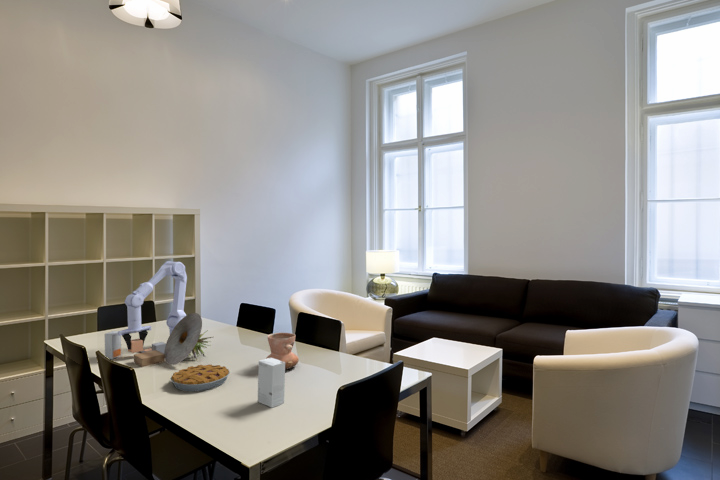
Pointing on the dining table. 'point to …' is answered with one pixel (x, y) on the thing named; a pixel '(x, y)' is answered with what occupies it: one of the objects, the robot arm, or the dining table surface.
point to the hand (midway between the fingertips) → (135, 347)
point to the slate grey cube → (159, 347)
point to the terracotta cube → (136, 345)
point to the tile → (146, 350)
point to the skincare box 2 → (271, 382)
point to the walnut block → (149, 358)
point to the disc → (185, 339)
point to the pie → (200, 377)
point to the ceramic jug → (283, 348)
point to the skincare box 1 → (112, 345)
